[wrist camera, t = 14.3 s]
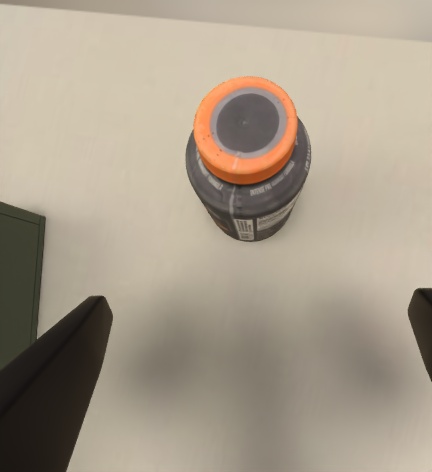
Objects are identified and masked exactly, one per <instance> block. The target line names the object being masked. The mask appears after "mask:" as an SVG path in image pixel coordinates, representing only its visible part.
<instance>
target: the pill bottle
mask: <svg viewBox="0 0 432 472" xmlns="http://www.w3.org/2000/svg"><path fill="white" fill-rule="evenodd" d="M310 163H311V145H310V140H309V137H308V134H307V131H306V129H305V127H304V125H303V123H302V122H301V121H300V119H299V118H298V117H297V113H296V109H295V107H294V104H293V102H292V100H291V99H290V97H289V96H288V94H287V93H286V92H285V91H284V90H283V89H282V88H281V87H279V86H278V85H276V84H275V83H273V82H271V81H269V80H267V79H263V78H259V77H238V78H234V79H230V80H228V81H226V82H223V83H221V84H220V85H218V86H217V87H215V88H214V89H212V90H211V91H210V92H209V93H208V94H207V95H206V97H205V98H204V99H203V100H202V102H201V103H200V105H199V107H198V110H197V112H196V115H195V119H194V129H193V131H192V133H191V135H190V137H189V140H188V144H187V148H186V169H187V173H188V177H189V180H190V182H191V185H192V187H193V188H194V190H195V192H196V194H197V195H198V197H199V199H200V200H201V201H202V203H203V204H204V206H205V208H206V209H207V211H208V213H209V214H210V216H211V217H212V219H213V220H214V221H215V223H216V224H217V226H218V227H219V228H220V229H221V230H222V231H223V232H224V233H226V234H227V235H229V236H231V237H233V238H235V239H238V240H242V241H250V242H251V241H259V240H263V239H266V238H268V237H270V236H272V235H273V234H275V233H276V232H277V231H278V230H280V229H281V228H282V226H283V225H284V224H285V222H286V221H287V219H288V217H289V215H290V213H291V211H292V208H293V206H294V204H295V202H296V200H297V198H298V196H299V194H300V192H301V190H302V187H303V184H304V182H305V180H306V177H307V175H308V172H309V168H310Z"/></svg>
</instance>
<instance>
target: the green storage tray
mask: <svg viewBox="0 0 432 472" xmlns="http://www.w3.org/2000/svg"><path fill="white" fill-rule="evenodd" d="M44 227H45V217H44V216H41V215H38V214H35V213H32V212H29V211H26V210H23V209H20V208H17V207H14V206H11V205H8V204H6V203H3V202H0V370H1V369H2V368H3V367H4V366H6V365H7V364H8V363H9V362H10V361H12V360H13V359H14V358H15V357H16V356H18V355H19V354H20V353H21V352H23V351H24V350H25V349H26V348H27V347H29V346H30V345H31V344H32V343H34V342H35V341H36V332H37V319H38V306H39V293H40V280H41V267H42V253H43V240H44Z"/></svg>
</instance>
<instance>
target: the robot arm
mask: <svg viewBox="0 0 432 472" xmlns="http://www.w3.org/2000/svg"><path fill="white" fill-rule="evenodd" d="M408 317H409V320H410V323H411V326H412V329H413V332H414V335H415V338H416V341H417V344H418V347H419V350H420V353H421V356H422V359H423V362H424V364H425V367H426V370H427V372H428V374H429V377H430V379H431V381H432V288H418V289H416V290H415V291H414V293H413V296H412V299H411V302H410V304H409V307H408ZM112 321H113V314H112V311H111V309H110V307H109V304H108V302H107V300H106V298H105V297H104V296H90V297H88V298H87V299H86V300H85V301H83V302H82V303H81V304H80V305H79V306H77V307H76V308H75V309H74V310H72V311H71V312H70V313H69V314H68V315H66V316H65V317H64V318H63V319H62V320H60V321H59V322H58V323H57V324H55V325H54V326H53V327H52V328H51V329H49V330H48V331H47V332H46V333H44V334H43V335H42V336H41V337H40V338H38V339H37V340H36V341H35V342H34V343H32V344H31V345H30V346H29V347H27V348H26V349H25V350H24V351H23V352H21V353H20V354H19V355H18V356H16V357H15V358H14V359H13V360H12V361H10V362H9V363H8V364H7V365H6V366H4V367H3V368H2V369H1V370H0V472H66V470H67V467H68V464H69V461H70V459H71V456H72V453H73V450H74V447H75V444H76V441H77V438H78V435H79V432H80V429H81V426H82V424H83V421H84V418H85V415H86V412H87V409H88V406H89V403H90V400H91V397H92V394H93V391H94V389H95V386H96V383H97V380H98V377H99V374H100V371H101V368H102V364H103V360H104V356H105V351H106V347H107V343H108V338H109V334H110V330H111V325H112Z"/></svg>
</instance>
